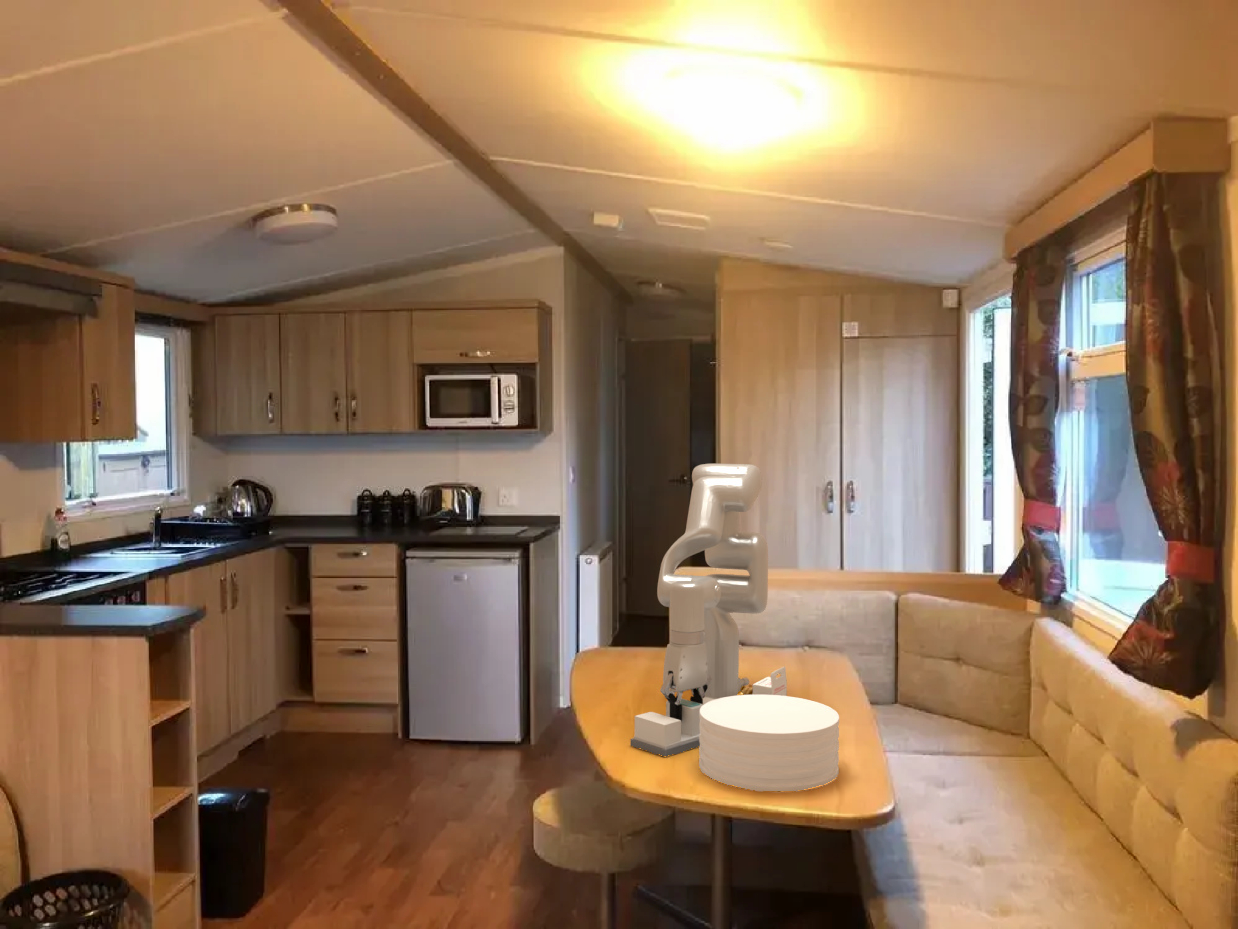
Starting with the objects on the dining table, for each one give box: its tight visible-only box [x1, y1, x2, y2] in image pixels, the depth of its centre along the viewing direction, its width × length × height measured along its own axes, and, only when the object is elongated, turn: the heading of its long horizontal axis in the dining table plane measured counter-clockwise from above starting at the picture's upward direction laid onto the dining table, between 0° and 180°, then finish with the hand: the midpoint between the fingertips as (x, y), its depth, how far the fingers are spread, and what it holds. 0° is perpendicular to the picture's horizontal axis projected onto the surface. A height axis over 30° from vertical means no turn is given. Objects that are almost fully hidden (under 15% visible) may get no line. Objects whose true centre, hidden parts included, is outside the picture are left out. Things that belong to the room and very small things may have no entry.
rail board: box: [629, 697, 715, 757], centre depth 225 cm, size 24×10×7 cm, turn 133°
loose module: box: [665, 698, 703, 737], centre depth 225 cm, size 4×8×6 cm, turn 42°
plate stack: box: [698, 694, 840, 792], centre depth 207 cm, size 28×28×12 cm
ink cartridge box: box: [752, 665, 788, 696], centre depth 231 cm, size 9×5×15 cm, turn 148°
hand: (686, 717), depth 225 cm, fingers open, 6 cm apart
